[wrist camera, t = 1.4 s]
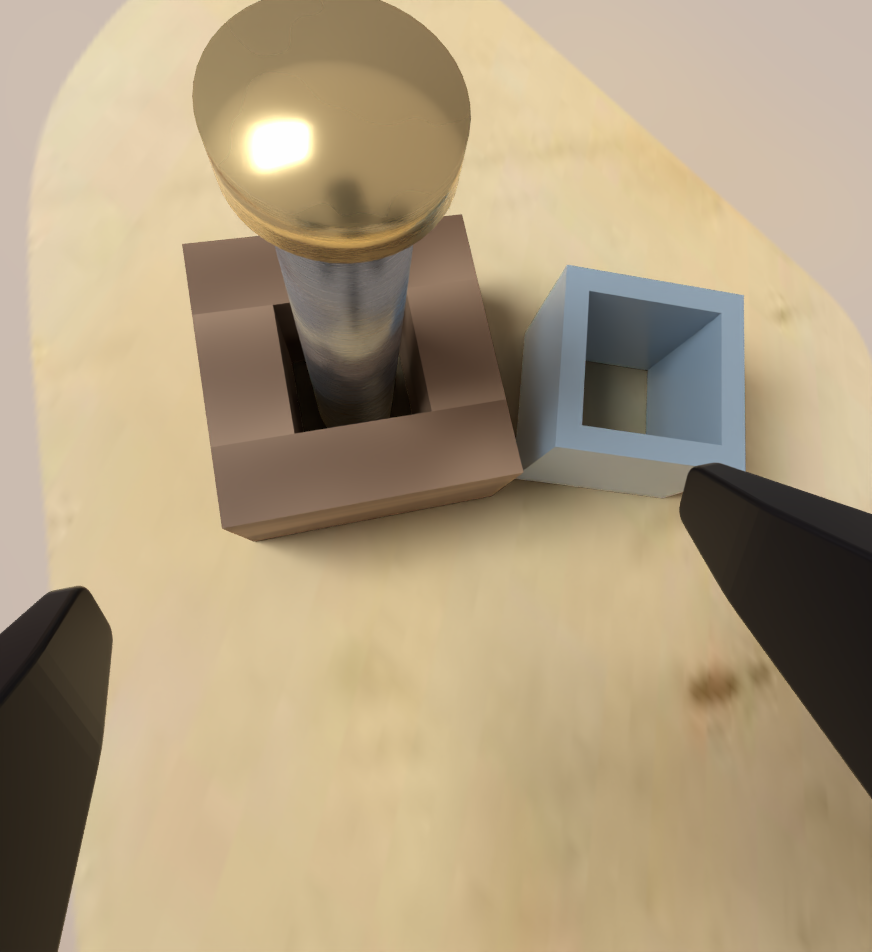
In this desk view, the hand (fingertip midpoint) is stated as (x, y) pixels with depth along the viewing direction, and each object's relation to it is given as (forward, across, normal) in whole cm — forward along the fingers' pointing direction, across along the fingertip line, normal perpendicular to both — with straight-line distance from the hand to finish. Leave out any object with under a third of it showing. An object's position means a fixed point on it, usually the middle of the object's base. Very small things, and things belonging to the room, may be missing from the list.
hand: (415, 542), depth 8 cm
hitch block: (+13, 0, +4) cm, 14 cm away
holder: (+12, -9, +6) cm, 16 cm away
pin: (+13, 0, +4) cm, 14 cm away
